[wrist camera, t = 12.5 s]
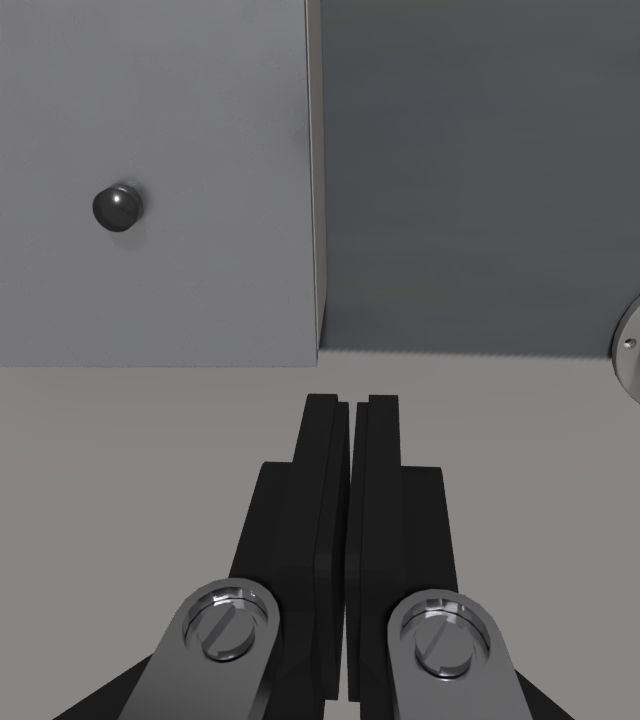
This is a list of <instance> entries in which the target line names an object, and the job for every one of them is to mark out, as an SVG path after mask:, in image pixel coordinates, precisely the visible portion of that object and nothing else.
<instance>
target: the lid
mask: <svg viewBox="0 0 640 720" xmlns="http://www.w3.org/2000/svg"><path fill="white" fill-rule="evenodd" d="M317 360H318V348H317V317H316V287H315V257H314V227H313V197H312V167H311V137H310V107H309V77H308V47H307V17H306V0H0V367H317Z"/></svg>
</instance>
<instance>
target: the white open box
mask: <svg viewBox="0 0 640 720" xmlns="http://www.w3.org/2000/svg"><path fill="white" fill-rule="evenodd" d="M306 17H307V47H308V77H309V107H310V137H311V167H312V197H313V227H314V257H315V287H316V317H317V348H318V349H319V342H320V335H321V328H322V321H323V314H324V307H325V300H326V293H327V266H326V221H325V175H324V130H323V85H322V40H321V0H306Z"/></svg>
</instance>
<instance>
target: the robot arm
mask: <svg viewBox="0 0 640 720" xmlns="http://www.w3.org/2000/svg"><path fill="white" fill-rule="evenodd" d="M612 364H613V367H614V371H615V375H616V376H617V378H618V380H619V382H620V383H621V385H622V387H623V388H624V389H625V390H626V391H627V393H628V394H629V395H630V397H632V398H633V399H634V400H635V401H637V402H638V403H639V404H640V296H639V297H638V298H637V299H636V300H635V301H634V302H633V303H632V304H631V306H630V307H629V309H628V310H627V312H626V313H625V315H624V316H623V318H622V319H621V321H620V324H619V326H618V328H617V331H616V333H615V336H614V341H613V346H612ZM349 440H350V439H349V404H348V402H338V396H337V394H308V396H307V399H306V404H305V408H304V413H303V417H302V422H301V426H300V431H299V435H298V439H297V444H296V448H295V453H294V457H293V461H292V462H264V463H263V464H262V467H261V469H260V473H259V476H258V480H257V483H256V486H255V489H254V493H253V496H252V499H251V503H250V506H249V510H248V513H247V516H246V520H245V523H244V527H243V530H242V533H241V536H240V540H239V543H238V546H237V550H236V554H235V556H234V560H233V563H232V567H231V570H230V573H229V577H228V578H226V579H221V580H217V581H213V582H211V583H209V584H207V585H204V586H202V587H200V588H198V589H197V590H196V591H195V592H194V593H192V594H191V595H190V596H189V597H187V598H186V599H185V601H184V602H183V603H182V605H181V606H180V607H179V609H178V610H177V611H176V613H175V615H174V617H173V618H172V621H171V622H170V624H169V626H168V628H167V630H166V631H165V633H164V635H163V637H162V639H161V641H160V642H159V644H158V646H157V648H156V650H155V652H154V653H153V654H151V655H150V656H148V657H147V658H145V659H144V660H142V661H141V662H139V663H138V664H136V665H135V666H133V667H132V668H130V669H129V670H127V671H125V672H124V673H122V674H121V675H120V676H118V677H116V678H115V679H113V680H112V681H110V682H109V683H107V684H106V685H104V686H103V687H101V688H100V689H98V690H97V691H95V692H94V693H92V694H91V695H89V696H88V697H86V698H85V699H83V700H81V701H80V702H78V703H77V704H76V705H74V706H73V707H71V708H69V709H68V710H66V711H65V712H63V713H62V714H61V715H59V716H57V717H56V718H54V719H53V720H323V718H324V706H325V700H338V693H339V680H340V667H341V653H342V652H341V651H342V639H343V625H344V612H345V607H346V638H347V668H348V699H349V701H350V702H360V719H361V720H575V719H573V718H572V717H571V716H570V715H568V714H567V713H566V712H565V711H564V710H563V709H562V708H560V707H559V706H558V705H557V704H556V703H554V702H553V701H552V700H551V699H550V698H548V697H547V696H546V695H545V694H544V693H542V692H541V691H540V690H539V689H538V688H537V687H535V686H534V685H533V684H532V683H531V682H529V681H528V680H527V679H526V678H525V677H524V676H522V675H521V674H520V673H519V672H518V671H516V670H515V669H514V667H513V664H512V662H511V659H510V656H509V653H508V650H507V648H506V645H505V643H504V640H503V637H502V634H501V632H500V630H499V628H498V627H497V625H496V623H495V621H494V619H493V617H492V616H491V615H490V614H489V613H488V612H486V610H485V609H484V608H483V607H482V606H481V605H480V604H478V603H477V602H475V601H473V600H472V599H470V598H469V597H466V596H465V595H462V594H459V592H458V585H457V578H456V570H455V563H454V555H453V548H452V541H451V534H450V526H449V519H448V511H447V504H446V497H445V490H444V482H443V475H442V470H441V468H440V467H418V466H417V467H415V466H401V455H400V430H399V404H398V395H369V402H358V403H357V412H356V426H355V438H354V451H353V463H352V476H351V484H350V443H349V442H350V441H349Z"/></svg>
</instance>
